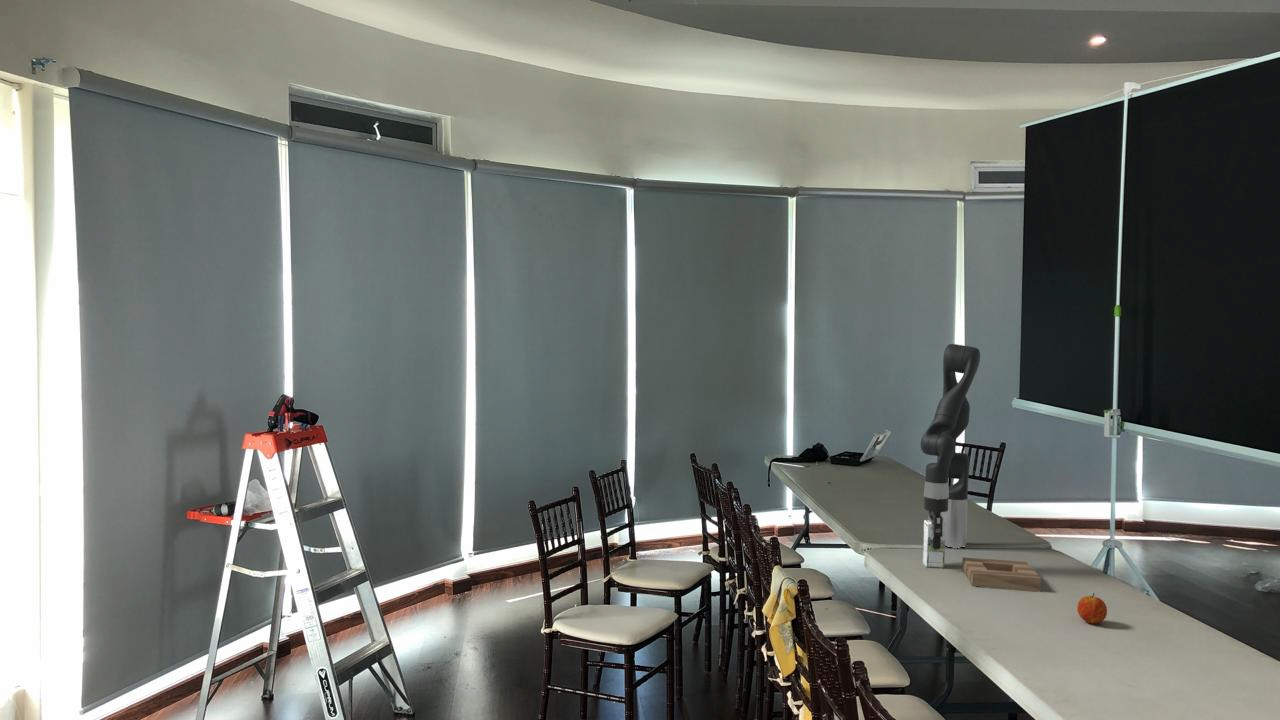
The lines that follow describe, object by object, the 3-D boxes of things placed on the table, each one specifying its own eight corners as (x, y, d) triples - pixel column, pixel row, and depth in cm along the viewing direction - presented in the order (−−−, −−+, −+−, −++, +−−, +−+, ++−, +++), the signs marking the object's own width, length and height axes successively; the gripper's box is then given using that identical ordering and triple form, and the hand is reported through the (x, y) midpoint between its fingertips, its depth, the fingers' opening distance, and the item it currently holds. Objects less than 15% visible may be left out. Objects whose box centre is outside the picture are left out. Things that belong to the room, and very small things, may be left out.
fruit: (1070, 619, 232) (1071, 590, 232) (1090, 617, 235) (1091, 587, 235) (1092, 628, 226) (1093, 597, 226) (1112, 625, 228) (1113, 595, 228)
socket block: (962, 569, 280) (962, 557, 280) (1025, 574, 276) (1026, 561, 276) (972, 586, 262) (972, 573, 261) (1040, 591, 258) (1040, 578, 258)
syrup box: (940, 563, 287) (941, 519, 286) (944, 568, 281) (946, 523, 281) (922, 562, 287) (923, 519, 287) (926, 567, 282) (927, 523, 281)
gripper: (921, 491, 291) (920, 539, 291) (926, 499, 277) (925, 550, 278) (945, 492, 290) (943, 541, 290) (951, 500, 276) (950, 551, 276)
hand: (934, 545), depth 284 cm, fingers open, 8 cm apart
